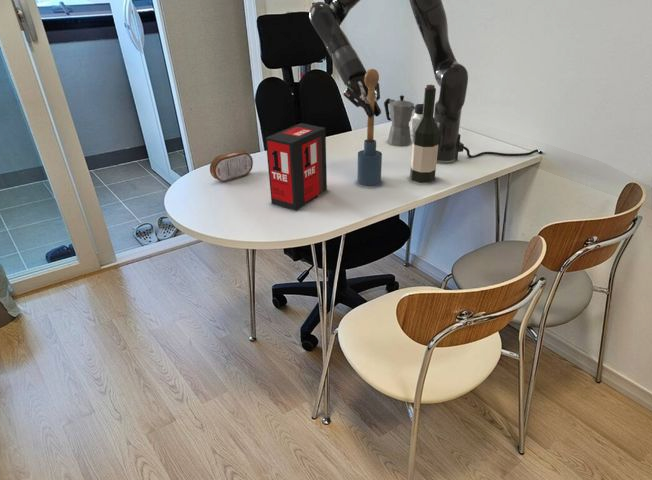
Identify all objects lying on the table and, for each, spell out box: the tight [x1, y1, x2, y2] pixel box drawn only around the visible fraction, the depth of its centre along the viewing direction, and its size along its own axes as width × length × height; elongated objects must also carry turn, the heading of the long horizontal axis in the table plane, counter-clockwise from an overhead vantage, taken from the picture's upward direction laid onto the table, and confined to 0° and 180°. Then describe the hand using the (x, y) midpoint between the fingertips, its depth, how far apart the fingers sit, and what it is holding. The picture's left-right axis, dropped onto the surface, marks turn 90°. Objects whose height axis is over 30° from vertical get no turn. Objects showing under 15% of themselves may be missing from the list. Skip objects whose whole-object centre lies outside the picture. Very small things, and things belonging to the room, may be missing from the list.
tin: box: [209, 149, 254, 182], centre depth 162 cm, size 15×3×8 cm, turn 135°
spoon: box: [364, 68, 380, 143], centre depth 150 cm, size 2×5×28 cm, turn 132°
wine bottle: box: [409, 84, 440, 184], centre depth 156 cm, size 8×8×30 cm
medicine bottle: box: [410, 102, 424, 137], centre depth 203 cm, size 7×7×12 cm
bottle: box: [356, 139, 383, 187], centre depth 158 cm, size 8×8×14 cm
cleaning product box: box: [265, 122, 328, 211], centre depth 146 cm, size 16×9×20 cm, turn 150°
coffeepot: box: [383, 94, 416, 147], centre depth 192 cm, size 15×9×18 cm, turn 44°
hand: (375, 115), depth 148 cm, fingers closed on spoon, 2 cm apart
